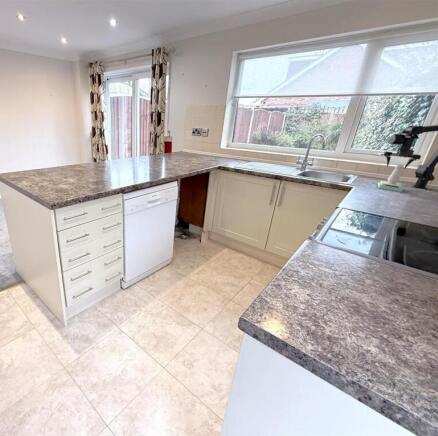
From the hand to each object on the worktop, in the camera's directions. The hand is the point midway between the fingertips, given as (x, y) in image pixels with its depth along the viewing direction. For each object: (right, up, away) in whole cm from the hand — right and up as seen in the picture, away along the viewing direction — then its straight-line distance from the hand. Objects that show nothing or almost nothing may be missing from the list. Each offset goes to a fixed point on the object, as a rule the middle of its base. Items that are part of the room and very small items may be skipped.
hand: (395, 167), depth 176 cm
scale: (-7, -15, -3) cm, 17 cm away
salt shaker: (-6, -12, -3) cm, 14 cm away
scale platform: (-7, -13, -3) cm, 15 cm away
